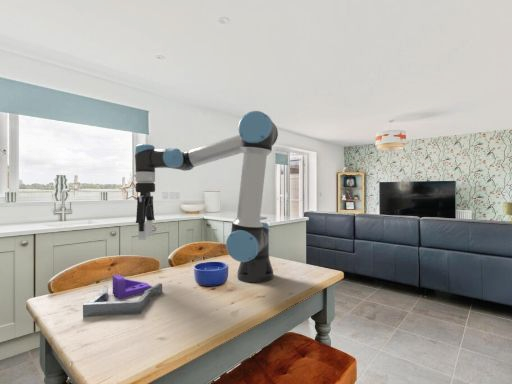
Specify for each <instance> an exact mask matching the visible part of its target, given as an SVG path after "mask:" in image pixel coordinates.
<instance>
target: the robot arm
mask: <svg viewBox="0 0 512 384" xmlns="http://www.w3.org/2000/svg"><path fill="white" fill-rule="evenodd" d="M237 130H238V135H235V136H231V137H228V138H224V139H221V140H218V141H216V142H215V141H214V142H212V143H209V144H205V145H202V146H200V147H196V148H192V149H190V150H186V151H183V152H182V151H181V149H179V148H171V147H168V148H161V149H160V148H159V149H157V148H155V145H153V144H148V143H147V144H145V143H141V144H137V145H136V146H135V152H134V153H135V154H134V159H135V163H134V164H135V174H134V175H133V176H134V177H135V182H136V183H135V192H136V193H139V194H140V195H139V196H137V197H136V201H137V205H136V220H135V224H138V225H137V226H138V228H137V229H138V241H139V240H147V237H152V236H154V235H153V233H154V231H153V230H154V229H153V227H154V226H153V221H155V220H156V219H155V213H154V195H151V193H155V191H156V183H155V182H156V169H158V168H159V169H160V168H161V169H174V170H180V171H184V172H185V171H190V170H193V168H194V167H195V168H196V167H198V166H201V165H202V166H203V165H206V164H208V163H211V162H216V161H219V160H223V159H226V158H229V157H232V156H236V155H239V154H243V158H242V164H241V165H242V167H241V175H240V184H239V185H240V187H239V194H238V195H239V196H238V203H237V212H236V218H235V219H234V220H233V221H232V223H231V231H230V232H231V233H230V234H229V235H228V237H227V238H226V242H225V247H226V248H225V249H226V251H227V253H228V255H229V256H230V257H231V258H232V259H233V260H234V261H236V262H239V266H238V269H237V272H236V273H237V279H238V280H239V281H242V282H245V283H264V282H265V283H266V282H269V281H272V279H274V275H275V274H274V269H273V266H272V264H271V261H270V227H269V225H270V224H269V223H267V222H261V214H262V213H261V212H262V204H263V193H264V185H265V178H266V177H265V175H266V168H267V167H266V166H267V165H266V164H267V157H268V156H269V155H270V154H271V153H272V149H273V146H274V144H276V142H277V141H278V136H279V131H278V128H277V126H276V124H275V123H274V121H272V119H271V117H270V116H269V115H267V114H266V113H264V112H262V111H260V110H253V111H249V112H247V113H246V114H244V115H243V116H242V117H241V119H240V120H239V122H238V129H237Z"/></svg>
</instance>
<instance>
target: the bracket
mask: <svg viewBox="0 0 512 384" xmlns="http://www.w3.org/2000/svg"><path fill="white" fill-rule="evenodd" d="M153 286H154V285H151V284H149V283H147V282H143V281H137V280H133V279H127V278H125V277H124V276H122V275H120V274H115V275H112V295H113V294H114V295H115V297H116V298H117V300H122V299H125V298H126V297H127V298H129V297H134V296H137V295H143V294H144V291H146V290H148V289H149V288H151V287H153ZM114 295H113V296H114Z"/></svg>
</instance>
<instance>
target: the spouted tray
mask: <svg viewBox="0 0 512 384" xmlns="http://www.w3.org/2000/svg"><path fill="white" fill-rule="evenodd" d="M108 285H109V284H108ZM108 285H104V286H103V290H102V293H98V294H97V295H96V296H94V298H92V299H91V300H89V301H88V302H84V304H82V317H83V318H87V317H89V318H90V317H104V316H105V317H108V316H109V317H110V316H130V315H131V316H132V315H141V313H142V312H143V311H144V310H145V308H146V307H147V305H148V304H149V303H150V302H151V299H152V298H154V297H156V296H158V295H159V294H161V293H163V283H160V282H159V283H157V284H156V285H152V286H153V287H151V288H149V289H148V290H146V291H144V293H142V294H141V296H140V298H138V300H118V301H114V300H113V301H108V297H109V295H108V294H109V286H108Z"/></svg>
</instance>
